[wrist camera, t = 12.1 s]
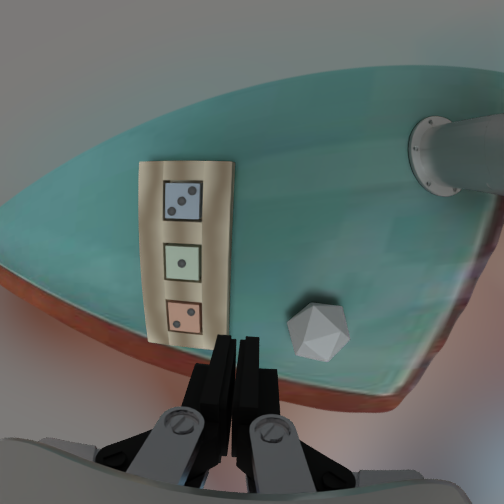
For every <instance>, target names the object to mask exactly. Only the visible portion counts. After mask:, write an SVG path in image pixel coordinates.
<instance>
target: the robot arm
mask: <svg viewBox="0 0 504 504" xmlns="http://www.w3.org/2000/svg"><path fill="white" fill-rule="evenodd" d="M413 148H414V149H413ZM408 151H409V160H410V164H411V168H412V170H413V173H414V175H415V177H416V178H417V180H418V181H419V183H420V184H421V185H422V186H423V187H424V188H425V189H426V190H427V191H429V192H430V193H432V194H434V195H437V196H443V197H447V196H452V195H455V194H456V193H458V192H459V191H460V190H461V189H466V190H472V191H479V192H485V193H491V194H497V195H502V196H504V113H502V114H496V115H489V116H483V117H478V118H472V119H467V120H462V121H456V122H451V121H450V120H448V119H446V118H444V117H440V116H431V117H427V118H425V119H423V120H421V121H420V122H419V123H417V125H416V126H415V127H414V129H413V131H412V133H411V136H410V140H409V149H408ZM426 183H427V184H426ZM235 366H236V339H231V335H220V334H218V335H217V338H216V342H215V346H214V350H213V354H212V357H211V361H210V365H208V364H199V363H196V364H195V366H194V369H193V372H192V375H191V378H190V381H189V384H188V388H187V391H186V394H185V397H184V400H183V403H182V406H181V407H174V408H171V409H168V410H167V411H165V412H164V413H163V414H162V415H161V417H160V418H159V420H158V421H157V423H156V425H155V426H154V428H153V429H152V430H149V431H147V432H144V433H141V434H139V435H136V436H133V437H131V438H128V439H125V440H123V441H120V442H117V443H114V444H111V445H108V446H106V447H104V448H102V449H97V448H96V446H93V445H87V444H81V443H75V442H69V441H64V440H60V439H55V438H43V439H41V440H40V441H38V442H37V441H33V440H29V439H22V438H3V439H0V504H472V502H471V501H470V499H469V498H468V496H467V495H466V493H465V492H464V491H463V490H462V489H461V488H460V487H459V486H458V485H456V484H455V483H452V482H450V481H445V480H438V479H424V477H423V476H422V475H421V474H420V473H419V472H417V471H415V470H360V471H359V472H351V471H350V470H349V469H347V468H345V467H344V466H342V465H340V464H339V463H337V462H335V461H333V460H331V459H330V458H328V457H326V456H325V455H323V454H321V453H320V452H318V451H316V450H315V449H313V448H312V447H310V446H308V445H306V444H305V443H304V442H302V441H300V440H299V437H298V434H297V431H296V428H295V426H294V424H293V423H292V422H291V421H290V420H289V419H287V418H285V417H283V416H280V404H279V389H278V374H277V369H261V368H259V337H248V336H246V340H240V347H239V355H238V363H237V371H236V379H235ZM231 419H232V457H237V463H236V466H237V467H238V468H239V469H241V470H242V471H243V472H244V473H245V474H246V484H247V491H248V493H238V492H225V491H216V490H207V489H203V488H204V485H205V482H206V479H207V477H208V474H209V469H210V468H212V467H214V466H216V465H218V463H221V456H227V452H228V444H229V435H230V427H231Z"/></svg>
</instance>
